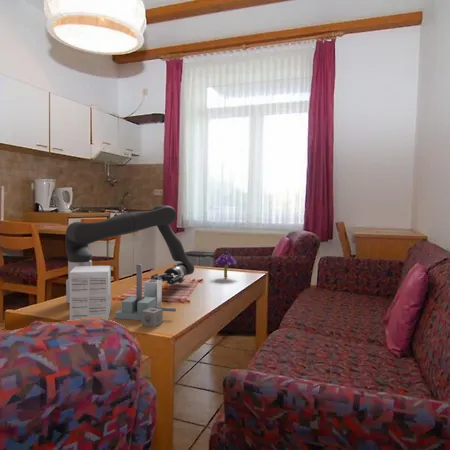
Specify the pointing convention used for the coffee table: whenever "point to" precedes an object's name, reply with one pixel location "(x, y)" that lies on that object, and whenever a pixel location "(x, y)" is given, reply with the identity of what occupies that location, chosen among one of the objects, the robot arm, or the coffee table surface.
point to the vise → (138, 301)
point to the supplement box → (90, 292)
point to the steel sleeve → (153, 290)
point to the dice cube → (152, 317)
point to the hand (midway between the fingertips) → (162, 281)
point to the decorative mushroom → (226, 261)
